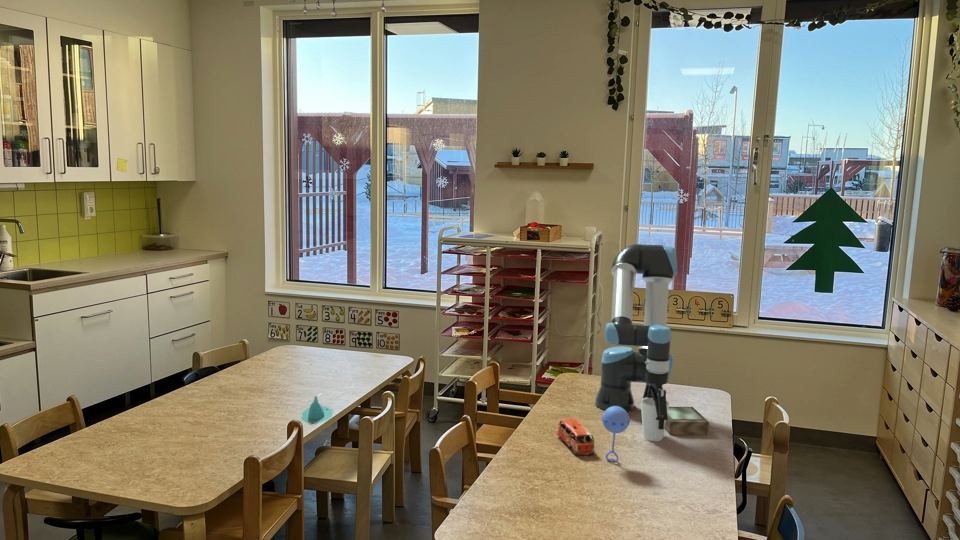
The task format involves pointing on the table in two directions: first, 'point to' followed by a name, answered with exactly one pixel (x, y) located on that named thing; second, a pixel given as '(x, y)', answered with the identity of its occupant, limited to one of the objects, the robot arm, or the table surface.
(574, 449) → the toy bus
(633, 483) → the table surface
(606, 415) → the baby rattle
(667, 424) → the walnut plinth
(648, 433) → the foam cup
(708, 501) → the table surface
